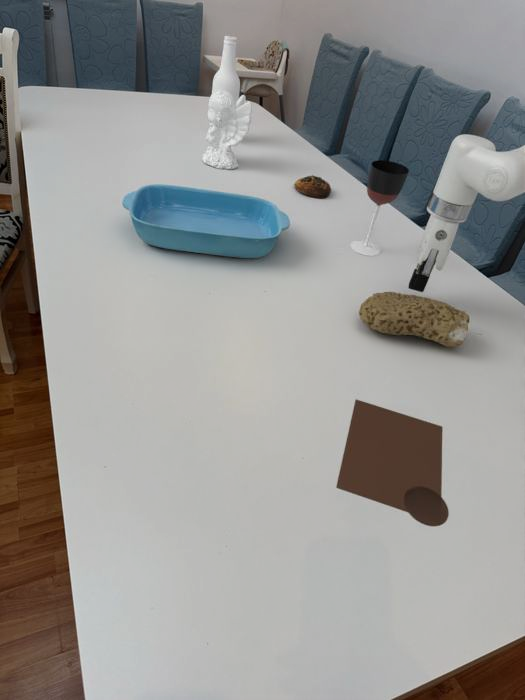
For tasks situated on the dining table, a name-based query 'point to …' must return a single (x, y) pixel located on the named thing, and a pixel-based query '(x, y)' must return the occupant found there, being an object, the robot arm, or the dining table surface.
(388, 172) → the wineglass
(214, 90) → the alcohol
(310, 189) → the bread roll
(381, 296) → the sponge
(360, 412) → the brown panel with disc
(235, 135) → the cherub figurine
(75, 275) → the dining table surface
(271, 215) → the casserole dish
